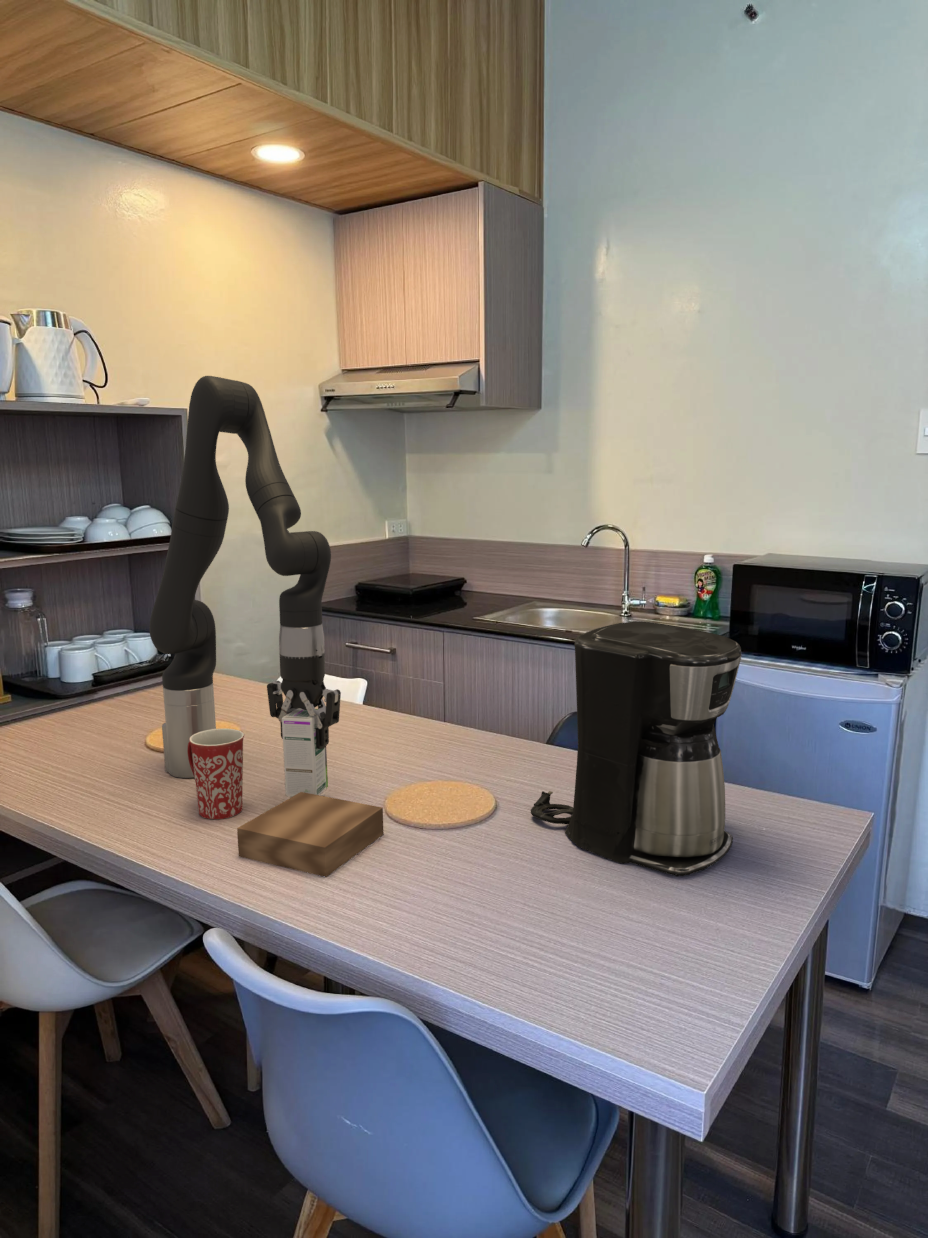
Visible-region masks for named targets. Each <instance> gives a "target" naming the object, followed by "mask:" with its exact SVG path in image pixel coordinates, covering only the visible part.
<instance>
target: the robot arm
mask: <svg viewBox="0 0 928 1238" xmlns="http://www.w3.org/2000/svg"><path fill="white" fill-rule="evenodd" d="M186 425H187V427H186V438H185V439H186V440H185V447H184V448H185V449H184V457H183V458H184V459H183V465H182V472H181V478H180V485H179V488H178V494H177V499H176V503H175V507H174V513H173V518H172V526H171V531H170V539H169V542H168V543H169V544H168V549H167V554H166V558H165V564H164V568H163V574H162V577H161V581H160V585H159V588H158V591H157V595H156V597H155V601H154V604H153V608H152V610H151V615H150V618H149V635H150V640H151V642H152V644H153V647H155V648H156V650H158V651H159V652H160V653H163V654H165V655H174V657H173V659H172V661H171V663H170V664H169V665H168V666H167V667H166V668H165V669H164V671H163V672H162V677H161V681H162V682H161V683H162V691H163V692H162V693H163V706H164V718H165V722H164V723H163V724H162V725H161V730H162V731H161V732H162V745H163V758H164V771H165V772H166V773H167V772H168V773H169V774H170V775H171V776H172V777H176V778H181V779H182V778H184V779H185V778H186V779H188V778H189V779H191V778H195V777H194V775H193V772H192V770H191V767H190V764H189V759H188V752H187V749H188V743H189V739H190V737H191V736H192V735H194V734H196V733H198V732H202V731H206V730H211V729H217V724H216V723H217V722H216V710H215V709H216V706H215V693H214V673H215V670H216V665H217V632H216V631H217V630H216V629H217V627H216V623H215V617H214V615H213V612H212V610H211V609H210V608H209V606H208V605H207V604H206V603H204V602H203V601H201V600H198V599H195V598H196V593H197V590H198V588H199V585H200V583H201V580H202V579H203V577H204V575H205V573H206V572H207V571H208V569H209V568H210V566H211V564H212V562H213V561H214V560H215V558H216V556H217V554H218V552H219V551H220V549H221V546H222V544H223V542H224V538H225V534H226V528H227V523H228V520H229V519H228V518H229V511H230V503H229V499H228V496H227V495H228V494H227V493H226V489H225V488H224V484H223V482H222V479H221V477H220V474H219V471H218V467H217V461H216V460H217V459H216V458H217V457H216V456H217V445H218V438H219V434H220V433H224V434H225V433H226V434H236V435H237V436H238V437H239V438H240V440H241V441H242V443H243V445H244V447H245V449H246V452H247V456H248V458H247V465H246V472H245V478H244V479H245V480H244V482H245V483H244V484H245V490H246V492H247V496H248V499H249V501H250V502H251V503H250V504H251V505H252V508H253V509H254V511H255V513H256V515H257V518H258V520H259V522H260V526H261V533H262V534H261V535H262V538H263V547H264V554H265V558H266V559H265V560H266V562H267V564H268V565H269V567H270V568H271V570H272V571H273V572H275V574H278V576H279V575H280V576H283V577H290V576H297V575H298V576H299V578H298V581H297V583H296V584H295V585H294V586H292V587H289V588H287V589H284V590H283V591H282V592H281V593H280V594H279V598H278V599H279V600H278V603H279V604H278V605H279V607H278V608H279V633H278V647H279V648H278V652H279V653H278V654H279V673H280V674H279V676H280V678H281V679H282V681H280V680H275V681H272V682H271V683H267V684H266V691H267V698H268V699H267V701H268V709H269V715H270V717H271V718H277V720H278V721H279V725H280V737H281V740H283V734H282V718H283V717H284V716H286V715H287V714H288V713H290V712H292V711H294V710H296V709H299V708H301V709H303V710H307V711H308V713H309V715H310V717H314V720H315V724H316V726H317V728H316V748H317V749H323V748H325V747H326V748H327V745H328V744H329V742H330V735H329V734H330V731H329V728H330V727H331V726H333V725H335V724H338V723H339V721H340V713H341V712H340V710H341V694H342V692H341V690H340V689H339V688H338V689H335V690H334V689H333V690H332V689H329V688H327V687H326V685H325V683H324V679H325V675H326V661H325V660H326V656H325V654H326V653H325V652H326V651H325V631H324V628H323V604H322V601H323V596H324V592H325V587H326V583H327V579H328V575H329V572H330V566H331V559H332V551H331V547H330V543H329V541H328V539H327V538H326V536H325V535H324V534H323V533H322V532H319V531H316V530H310V531H309V530H307V531H295V532H294V531H293V532H289V530H288V529H290V528H292V527H294V526H295V525H296V524H297V523H298V522H299V520H300V519H301V516H302V510H301V507H300V504H299V502H298V500H297V498H296V497H295V494H294V491H293V490H292V487H291V486H290V484H289V481H288V479H287V478H286V476H285V474H284V472H283V469H282V467H281V464H280V461H279V457H278V455H277V452H276V447H275V444H274V440H273V436H272V433H271V430H270V427H269V423H268V420H267V417H266V413H265V409H264V405H263V403H262V401H261V399H260V395H259V394H258V392H257V390H256V389H255V388H254V387H253V386H252V385H251V384H249V383H247V382H244V381H239V380H235V379H228V378H226V377H225V378H224V377H219V376H215V375H214V376H212V375H205V376H201V377H200V378H199V379H198V380H197V382H195V384H194V386H193V389H192V392H191V395H190V399H189V406H188V416H187V424H186ZM283 696H285V698H284V697H283ZM323 697H324V699H323ZM316 709H318V710H316Z"/></svg>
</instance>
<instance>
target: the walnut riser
mask: <svg viewBox="0 0 928 1238" xmlns="http://www.w3.org/2000/svg"><path fill="white" fill-rule="evenodd" d="M236 829H237V830H236V832H237V833H236V835H237V848H238V849H237V850H238V851H237V852H238V857H240V858H244V859H248V860H252V861H256V862H260V863H265V864H268V865H272V866H278V867H282V868H286V869H289V870H295V871H299V872H302V873H307V872H308V873H307V874H311V875H315V876H319V875H320V877H323V876H325V877H324V878H327V877H329V876H330V875H331V874H333V872H335V871H337V869H340V867H341V866H344V864H346V863H347V862H349V861H350V860H351V859H353V858H354V857H355V856H356V855H358V854H359V853H361V852H362V851H363V850H364V849H366V848H368V846H369V847H370V845H371V844H373V843H374V842H376V841H377V840H378V839H379V838H381V837H382V836H384V832H385V831H384V808H383V807H382V806H377V805H373V804H372V805H371V804H368V803H367V804H366V803H363V802H362V803H360V802H355V801H350V800H344V799H340V798H335V797H330V796H325V795H321V794H320V795H315V794H309V793H304V792H300V793H298V794H296V795H294V796H293V797H289V798H288V799H286V800H284V801H282V802H280V803H279V804H277V805H275V806H272V808H270V809H268V810H266V811H264V812H263V813H261V814H260V815H258V816H256V817H255V818H252V819H250V820H249V821H247V822H245V823H244V824H242V825H240V826H237V828H236Z"/></svg>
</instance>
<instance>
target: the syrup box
mask: <svg viewBox="0 0 928 1238" xmlns="http://www.w3.org/2000/svg"><path fill="white" fill-rule="evenodd" d="M315 709H316V710H318V708H315ZM316 728H317V726H316V724H315V720H314V717H310V715H309V713H308V711H307V710H303V709H301V708H299V709H296V710H294V711H292V712H290V713H288V714H287V715H286V716H284V717H283V718H282V734H283V739H282V751H283V768H284V787H285V790H284V791H285V796H286V797H289V798H291V797H293V796H294V795H296V794H298V793H300V792H304V793H309V794H315V795H320V796H321V794H322V793H323V792H325V790H326V789H327V788H328V787H329V780H328V779H329V778H328V777H329V776H328V759H327V753H328V752H327V746H326V747H325V748H323V749H317V748H316Z"/></svg>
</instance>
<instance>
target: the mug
mask: <svg viewBox="0 0 928 1238" xmlns="http://www.w3.org/2000/svg"><path fill="white" fill-rule="evenodd" d="M244 738H245V733H244V732H243V731H241V730H238V729H234V728H216V729H211V730H206V731H202V732H198V733H196V734H194V735H192V736H191V737H190V739H189V743H188V749H187V752H188V759H189V764H190V767H191V770H192V772H193V775H194V777H193V778H194V780H195V781H194V783H195V788H196V789H195V791H196V799H197V807H198V808H197V811H198V813H199V816H201V817H202V818H205V819H207V820H222V819H228V818H232V817H235V816H237V815H239V814H240V813H241V812H242V811H243V804H244V802H243V799H244V797H243V796H244V795H243V784H244V783H243V782H244V780H243V779H244V777H243V774H244V773H243V772H244V769H243V768H244Z"/></svg>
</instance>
